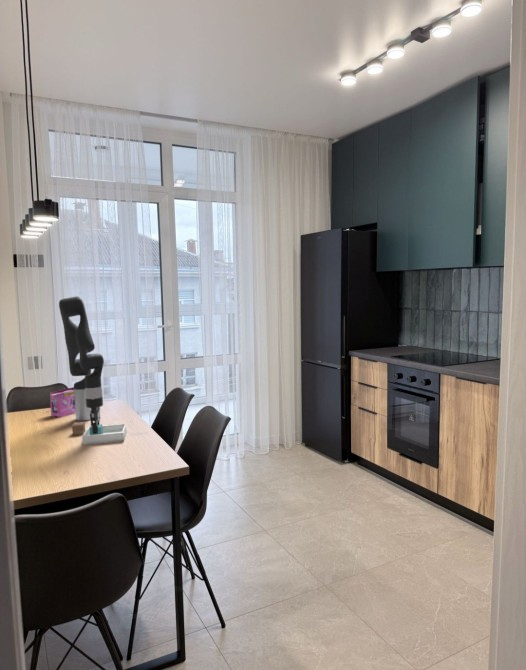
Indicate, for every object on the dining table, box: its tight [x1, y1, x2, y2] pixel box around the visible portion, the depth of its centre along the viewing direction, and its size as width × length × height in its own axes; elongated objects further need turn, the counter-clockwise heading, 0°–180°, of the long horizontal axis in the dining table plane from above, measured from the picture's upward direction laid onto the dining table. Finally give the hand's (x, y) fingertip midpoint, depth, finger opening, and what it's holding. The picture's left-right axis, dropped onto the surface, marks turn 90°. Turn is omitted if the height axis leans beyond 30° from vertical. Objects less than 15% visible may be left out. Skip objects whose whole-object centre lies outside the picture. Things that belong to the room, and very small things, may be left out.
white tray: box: [81, 423, 128, 446], centre depth 223 cm, size 16×18×4 cm
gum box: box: [49, 386, 76, 418], centre depth 275 cm, size 24×8×14 cm, turn 153°
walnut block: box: [71, 421, 86, 436], centre depth 232 cm, size 5×5×5 cm
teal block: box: [89, 424, 103, 435], centre depth 222 cm, size 5×5×5 cm
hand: (96, 431), depth 222 cm, fingers open, 5 cm apart
